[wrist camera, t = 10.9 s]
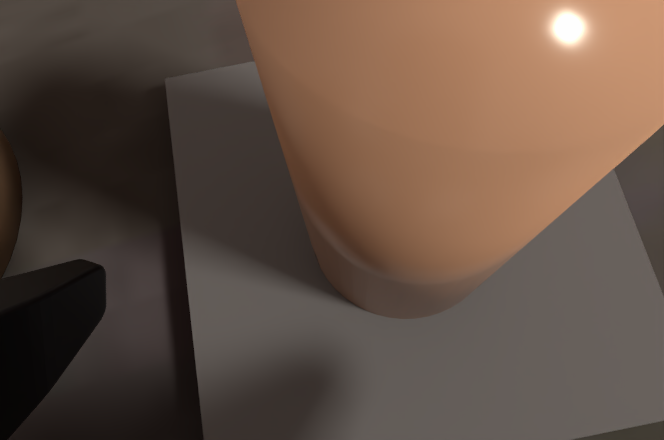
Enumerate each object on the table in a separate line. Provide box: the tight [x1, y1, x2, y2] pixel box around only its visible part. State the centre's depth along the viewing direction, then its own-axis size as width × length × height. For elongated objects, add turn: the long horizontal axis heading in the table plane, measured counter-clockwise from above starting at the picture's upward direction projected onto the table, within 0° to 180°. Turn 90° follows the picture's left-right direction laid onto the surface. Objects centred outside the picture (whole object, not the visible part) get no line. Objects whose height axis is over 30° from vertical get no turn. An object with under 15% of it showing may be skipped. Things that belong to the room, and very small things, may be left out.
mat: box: [165, 61, 664, 440], centre depth 15 cm, size 12×12×1 cm
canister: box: [236, 0, 664, 319], centre depth 10 cm, size 5×5×10 cm
